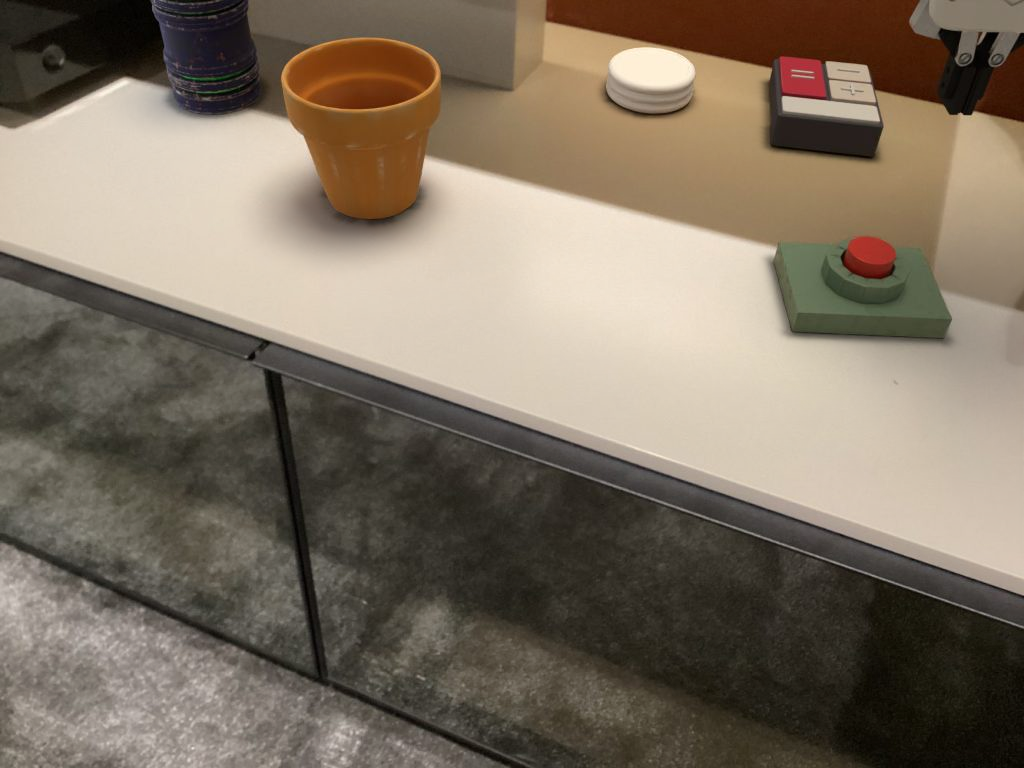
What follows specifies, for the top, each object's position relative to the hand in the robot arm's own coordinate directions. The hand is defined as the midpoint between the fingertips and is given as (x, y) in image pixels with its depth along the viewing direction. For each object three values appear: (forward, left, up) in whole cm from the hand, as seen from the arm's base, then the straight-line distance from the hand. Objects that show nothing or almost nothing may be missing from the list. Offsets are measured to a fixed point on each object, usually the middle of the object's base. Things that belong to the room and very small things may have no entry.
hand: (954, 106), depth 75 cm
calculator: (0, -30, -18) cm, 35 cm away
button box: (+3, +2, -18) cm, 18 cm away
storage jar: (+68, -30, -18) cm, 77 cm away
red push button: (+3, +2, -14) cm, 15 cm away
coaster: (+19, -34, -18) cm, 43 cm away
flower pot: (+48, -11, -18) cm, 53 cm away
